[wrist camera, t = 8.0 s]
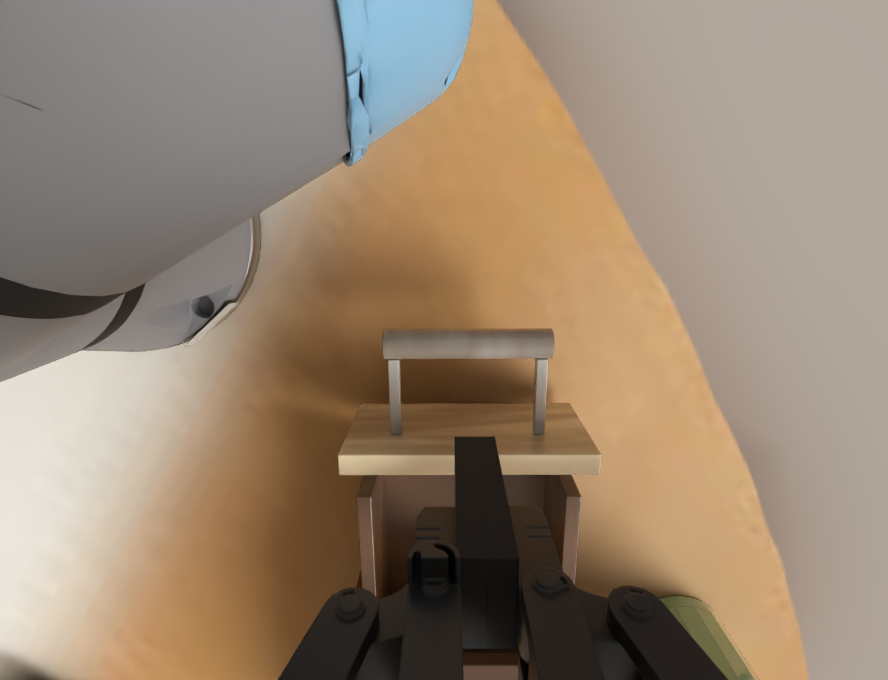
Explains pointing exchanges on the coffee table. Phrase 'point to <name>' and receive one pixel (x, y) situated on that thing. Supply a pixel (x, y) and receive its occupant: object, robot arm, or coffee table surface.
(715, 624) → the pot
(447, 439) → the drawer
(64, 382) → the coffee table surface
